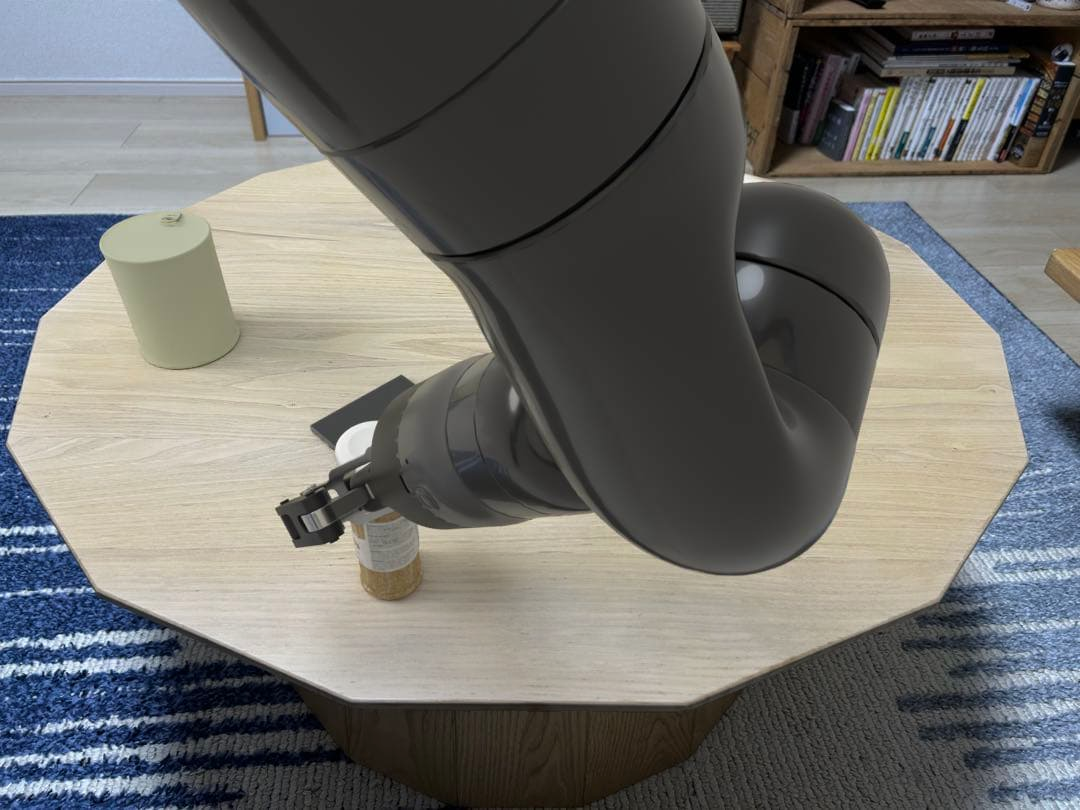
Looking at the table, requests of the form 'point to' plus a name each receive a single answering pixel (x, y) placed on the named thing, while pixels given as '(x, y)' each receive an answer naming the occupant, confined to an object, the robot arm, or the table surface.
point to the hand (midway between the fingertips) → (372, 474)
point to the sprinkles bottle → (382, 534)
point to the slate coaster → (359, 411)
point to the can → (171, 287)
